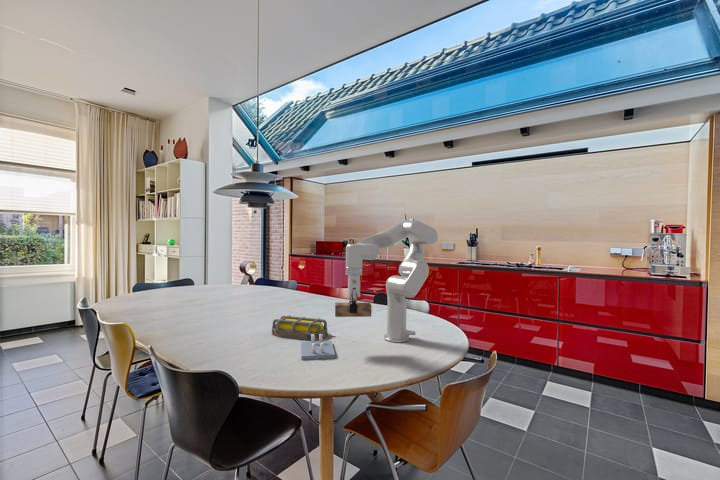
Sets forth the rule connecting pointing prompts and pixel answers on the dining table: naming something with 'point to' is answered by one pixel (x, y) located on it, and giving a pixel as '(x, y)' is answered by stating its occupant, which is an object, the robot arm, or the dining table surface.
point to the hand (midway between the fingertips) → (353, 310)
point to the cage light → (299, 327)
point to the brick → (344, 311)
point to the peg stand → (317, 349)
